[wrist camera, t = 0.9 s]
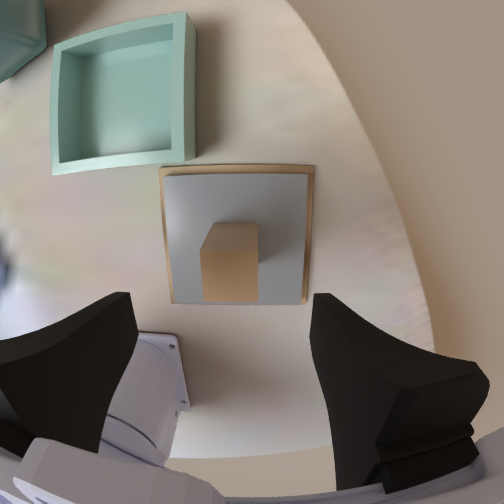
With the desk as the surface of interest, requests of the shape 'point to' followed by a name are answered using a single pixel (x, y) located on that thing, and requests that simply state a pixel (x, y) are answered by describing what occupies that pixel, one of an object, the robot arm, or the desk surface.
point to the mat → (243, 169)
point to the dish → (124, 95)
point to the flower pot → (20, 34)
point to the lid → (236, 237)
